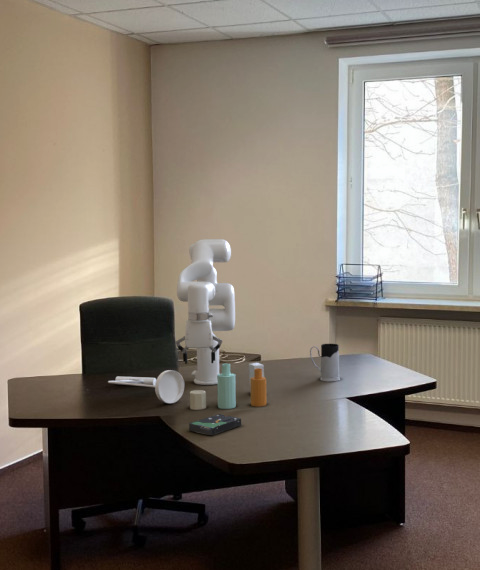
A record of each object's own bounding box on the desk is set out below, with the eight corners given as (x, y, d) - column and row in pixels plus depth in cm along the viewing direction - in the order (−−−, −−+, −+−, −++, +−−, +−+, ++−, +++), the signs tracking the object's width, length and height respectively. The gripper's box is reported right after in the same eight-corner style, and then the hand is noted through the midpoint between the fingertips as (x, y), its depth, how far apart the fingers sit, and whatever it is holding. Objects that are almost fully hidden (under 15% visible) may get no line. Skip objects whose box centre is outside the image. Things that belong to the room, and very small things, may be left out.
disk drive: (219, 421, 255) (188, 430, 243) (219, 413, 254) (188, 422, 243) (241, 426, 248) (211, 436, 237) (241, 418, 248) (211, 427, 236)
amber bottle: (247, 405, 276) (247, 369, 275) (257, 402, 281) (256, 367, 280) (260, 407, 273) (259, 371, 272) (269, 404, 278) (269, 368, 276)
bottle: (214, 407, 273) (213, 364, 272) (225, 403, 279) (225, 361, 277) (227, 409, 270) (227, 366, 268) (239, 406, 275) (238, 363, 274)
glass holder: (334, 382, 314) (333, 347, 313) (305, 378, 321) (305, 344, 320) (343, 378, 321) (343, 344, 320) (315, 375, 329) (315, 341, 328)
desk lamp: (204, 370, 292) (137, 365, 322) (159, 370, 275) (92, 365, 306) (203, 401, 291) (135, 394, 321) (157, 404, 274) (90, 395, 305)
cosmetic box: (265, 395, 292) (264, 364, 291) (254, 396, 290) (254, 365, 289) (259, 391, 298) (258, 362, 297) (248, 393, 296) (248, 363, 295)
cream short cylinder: (186, 408, 273) (186, 392, 272) (197, 405, 277) (197, 389, 277) (198, 410, 269) (198, 394, 269) (209, 407, 274) (208, 391, 273)
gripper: (222, 315, 276) (222, 360, 277) (175, 316, 274) (176, 361, 276) (222, 317, 268) (222, 364, 270) (174, 318, 267) (175, 365, 268)
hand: (199, 363), depth 273 cm, fingers open, 9 cm apart
